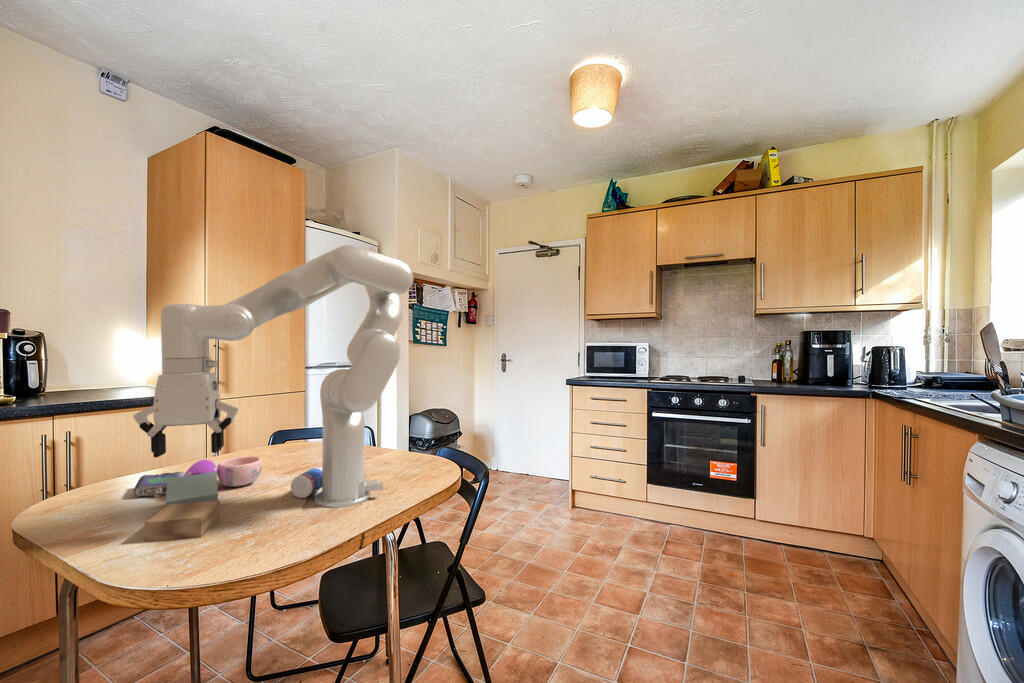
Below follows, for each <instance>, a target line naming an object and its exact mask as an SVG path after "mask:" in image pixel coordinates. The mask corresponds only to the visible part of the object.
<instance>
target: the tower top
mask: <svg viewBox="0 0 1024 683" xmlns="http://www.w3.org/2000/svg"><path fill="white" fill-rule="evenodd" d="M218 500H219V490H218V476H217V474H216V472H210V473H203V474H197V475H190V476H183V477H176V478H169V479H168V481H167V493H166V494H165V507H166V506H168V505H169V504H181V503H193V502H206V501H218Z"/></svg>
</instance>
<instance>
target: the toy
mask: <svg viewBox="0 0 1024 683" xmlns="http://www.w3.org/2000/svg"><path fill="white" fill-rule="evenodd" d="M217 468H218V467H217V466H216V464H215V463H214V461H213V460H210V459H202V460H198V461H197V462H195V463H193V464H192V465H191V466H190V467H189V468H188V469H187V471H186V472H185V473H184V474H185V475H184V476H190V475H197V474H203V473H210V472H216V474H217Z"/></svg>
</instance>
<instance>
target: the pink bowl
mask: <svg viewBox="0 0 1024 683" xmlns="http://www.w3.org/2000/svg"><path fill="white" fill-rule="evenodd" d="M216 468H217V479H218V480H219V482H220V483H221V484H222V486H225V487H241V486H246V485H249V484H252V483H254V482H256V481H257V480H258V479H259V477H260V476H261V473H262V469H263V462H262V459H261V458H260V457H258V456H237V457H233V458H228V459H225V460H222V461H220V462H219V463H218V465H217V467H216Z"/></svg>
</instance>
